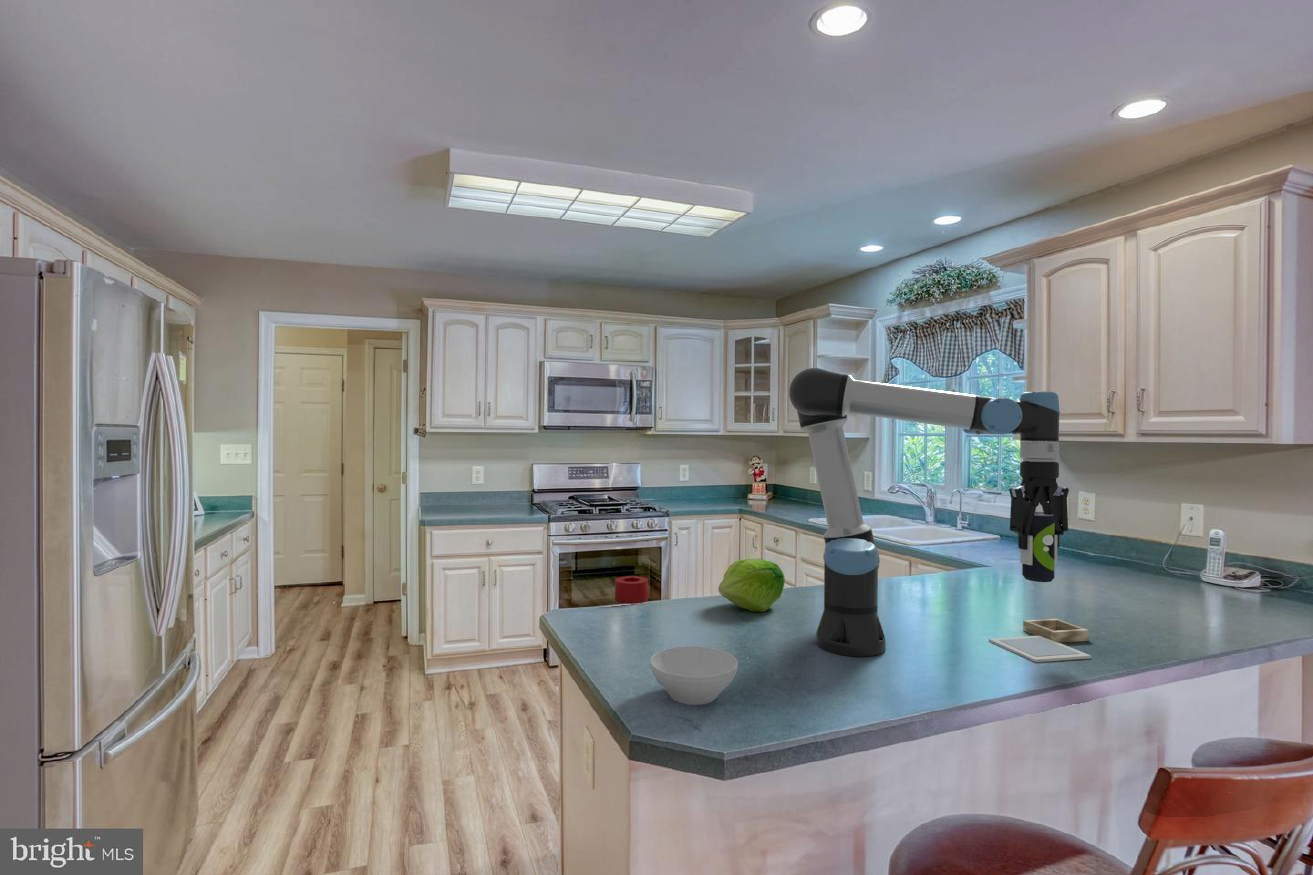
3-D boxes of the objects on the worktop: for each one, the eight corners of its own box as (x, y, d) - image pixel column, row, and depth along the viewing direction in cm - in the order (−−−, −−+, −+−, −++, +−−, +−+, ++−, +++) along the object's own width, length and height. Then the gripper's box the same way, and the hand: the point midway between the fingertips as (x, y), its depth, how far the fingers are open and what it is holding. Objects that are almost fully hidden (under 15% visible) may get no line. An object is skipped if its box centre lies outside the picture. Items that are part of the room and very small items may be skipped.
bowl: (642, 714, 109) (642, 673, 109) (656, 679, 125) (657, 643, 125) (736, 721, 107) (736, 679, 107) (739, 684, 122) (739, 648, 122)
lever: (645, 607, 177) (646, 584, 177) (612, 606, 178) (612, 583, 178) (652, 591, 195) (652, 570, 195) (622, 591, 196) (622, 569, 196)
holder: (1054, 642, 148) (1054, 632, 148) (1023, 630, 157) (1023, 620, 157) (1088, 640, 150) (1088, 630, 150) (1056, 628, 159) (1056, 618, 159)
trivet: (1034, 662, 135) (1035, 659, 135) (988, 641, 149) (988, 638, 149) (1091, 658, 138) (1091, 655, 138) (1040, 637, 152) (1040, 634, 152)
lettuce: (705, 606, 178) (706, 557, 178) (765, 599, 186) (766, 552, 186) (733, 620, 164) (734, 568, 164) (797, 612, 173) (797, 561, 173)
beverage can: (1019, 575, 148) (1019, 511, 148) (1050, 577, 146) (1050, 512, 146) (1025, 581, 142) (1025, 514, 142) (1057, 583, 140) (1057, 515, 140)
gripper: (1015, 461, 138) (1014, 568, 138) (1089, 460, 141) (1088, 565, 141) (990, 459, 145) (990, 561, 145) (1061, 459, 149) (1060, 558, 149)
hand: (1038, 563), depth 143 cm, fingers closed on beverage can, 6 cm apart
